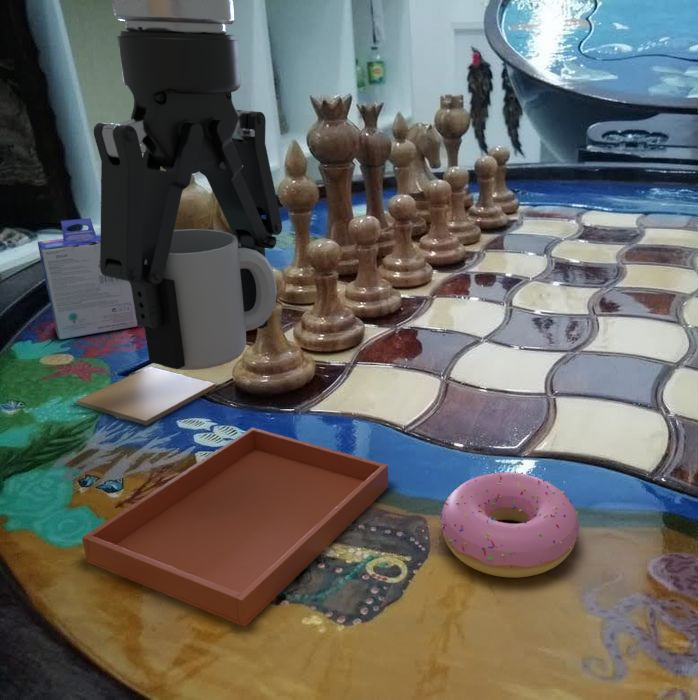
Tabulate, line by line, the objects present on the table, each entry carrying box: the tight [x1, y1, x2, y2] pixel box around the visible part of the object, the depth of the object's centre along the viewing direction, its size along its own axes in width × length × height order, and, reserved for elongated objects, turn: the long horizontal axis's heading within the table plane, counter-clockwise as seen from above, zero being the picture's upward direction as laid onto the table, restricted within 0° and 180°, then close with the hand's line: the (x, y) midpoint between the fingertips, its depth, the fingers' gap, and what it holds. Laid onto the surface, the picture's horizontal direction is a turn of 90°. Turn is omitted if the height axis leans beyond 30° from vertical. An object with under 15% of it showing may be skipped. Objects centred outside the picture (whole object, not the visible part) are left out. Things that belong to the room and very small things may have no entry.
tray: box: [81, 427, 389, 628], centre depth 60 cm, size 15×19×2 cm
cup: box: [144, 228, 278, 371], centre depth 56 cm, size 7×10×9 cm
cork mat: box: [76, 366, 217, 427], centre depth 80 cm, size 10×10×1 cm
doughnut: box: [438, 470, 580, 578], centre depth 58 cm, size 11×11×4 cm
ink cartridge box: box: [37, 217, 139, 340], centre depth 96 cm, size 10×6×14 cm, turn 124°
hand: (212, 342), depth 57 cm, fingers closed on cup, 9 cm apart
